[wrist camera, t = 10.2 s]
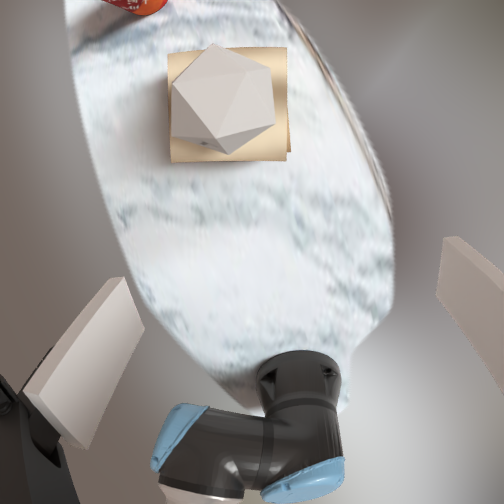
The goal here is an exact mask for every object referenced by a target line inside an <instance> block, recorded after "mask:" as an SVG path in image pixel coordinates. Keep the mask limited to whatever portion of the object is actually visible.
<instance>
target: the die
mask: <svg viewBox="0 0 504 504" xmlns="http://www.w3.org/2000/svg"><path fill="white" fill-rule="evenodd" d="M275 124H276V119H275V109H274V99H273V89H272V80H271V71H270V68H269V67H267V66H265V65H262V64H260V63H258V62H256V61H254V60H252V59H249V58H247V57H245V56H242V55H240V54H238V53H235V52H233V51H231V50H228V49H226V48H223V47H221V46H218V45H215V44H213V43H212V44H211V45H210V46H209V47H208V48H207V49H206V50H205V51H204V52H202V53H201V54H200V55H199V56H198V57H197V58H196V59H195V60H194V61H193V62H192V63H191V64H190V65H189V66H188V67H186V68H185V69H184V70H183V71H182V72H181V73H180V74H179V75H178V76H177V77H176V78H175V79H174V80H173V81H172V94H171V136H172V137H176V138H179V139H182V140H185V141H188V142H191V143H194V144H197V145H200V146H203V147H206V148H209V149H212V150H215V151H218V152H221V153H224V154H227V155H230V154H231V153H233V152H234V151H236V150H237V149H238V148H240V147H241V146H243V145H244V144H246V143H247V142H249V141H250V140H252V139H253V138H255V137H256V136H258V135H259V134H261V133H262V132H264V131H265V130H267V129H268V128H270V127H271V126H273V125H275Z"/></svg>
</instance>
